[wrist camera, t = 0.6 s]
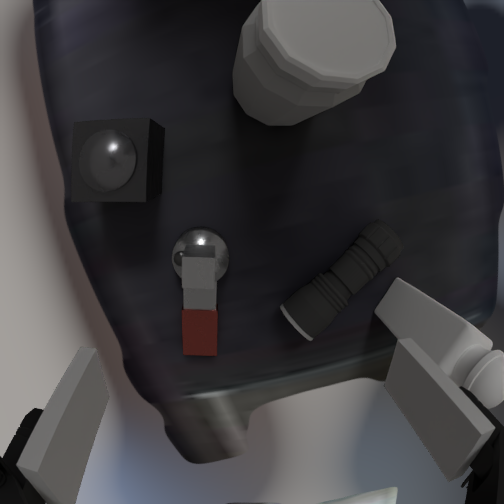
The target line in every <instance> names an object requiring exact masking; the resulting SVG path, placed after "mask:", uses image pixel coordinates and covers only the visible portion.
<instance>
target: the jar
mask: <svg viewBox="0 0 504 504" xmlns="http://www.w3.org/2000/svg"><path fill="white" fill-rule="evenodd" d="M395 48H396V41H395V35H394V29H393V23H392V18H391V16H390V15H389V13H388V12H387V10H386V9H385V7H384V6H383V5H382V3H381V2H380V1H379V0H261V2H259V4H258V5H257V6H256V8H255V9H254V10H253V12H252V13H251V15H250V16H249V18H248V19H247V20H246V22H245V23H244V25H243V26H242V30H241V34H240V39H239V44H238V48H237V53H236V58H235V63H234V68H233V95H234V96H235V98H236V99H237V101H238V102H239V104H240V105H241V107H242V108H243V110H244V111H245V113H246V114H247V115H249V116H251V117H253V118H255V119H257V120H258V121H260V122H262V123H264V124H266V125H268V126H293V125H295V124H297V123H299V122H301V121H303V120H305V119H308V118H310V117H312V116H314V115H316V114H319V113H321V112H323V111H325V110H327V109H330V108H332V107H334V106H336V105H338V104H340V103H342V102H343V101H345V100H347V99H349V98H351V97H353V96H355V95H357V94H359V93H360V92H361V90H362V88H363V86H364V84H365V82H366V80H367V79H369V78H371V77H373V76H375V75H377V74H379V73H381V72H383V71H385V69H386V67H387V65H388V63H389V61H390V59H391V57H392V54H393V52H394V50H395Z"/></svg>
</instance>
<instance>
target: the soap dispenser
mask: <svg viewBox="0 0 504 504" xmlns="http://www.w3.org/2000/svg"><path fill="white" fill-rule="evenodd" d="M374 312H375V314H376V315H377V316H378V317H379V318H380V319H381V321H382V322H383V323H384V324H385V325H386V326H387V327H388V329H389V330H390V331H391V332H392V333H393V334H394V335H395V337H396V338H397V339H398V340H399V339H406V338H411V339H412V340H413V341H414V342H415V343H416V344H417V345H418V346H419V347H420V348H421V349H422V350H423V351H424V352H425V353H426V354H427V355H428V356H429V357H430V358H431V359H432V360H433V361H434V362H435V363H436V364H437V365H438V366H439V367H440V368H441V369H442V370H443V371H444V372H445V373H446V374H447V376H448V377H449V378H450V379H451V380H452V381H453V382H454V383H455V384H456V385H457V386H458V387H461V386H462V387H464V388H465V389H467V390H469V391H471V392H472V393H473V394H474V395H475V396H476V397H477V399H478V401H480V402H481V403H482V404H483V406H485V407H486V408H487V409H489V408H493V407H495V406H497V405H498V404H500V403H501V402H502V401H503V400H504V353H503V352H502V351H501V350H494V351H490V350H491V348H492V346H493V343H492V341H491V340H490V339H489V338H488V337H487V336H485V335H484V334H482V333H481V332H480V331H479V330H478V329H477V328H476V327H474V326H473V325H472V324H471V323H469V322H468V321H466V320H465V319H463V318H462V317H460V316H459V315H457V314H456V313H454V312H452V311H451V310H449V309H448V308H446V307H445V306H443V305H442V304H440V303H438V302H437V301H435V300H434V299H432V298H431V297H429V296H427V295H426V294H424V293H423V292H421V291H419V290H418V289H416V288H415V287H413V286H411V285H410V284H408V283H406V282H405V281H403V280H402V279H400V278H396V279H395V280H394V282H393V283H392V285H391V286H390V288H389V290H388V291H387V293H386V294H385V296H384V297H383V299H382V300H381V302H380V303H379V304H378V306H377V307H376V309H375V311H374Z"/></svg>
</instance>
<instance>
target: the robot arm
mask: <svg viewBox="0 0 504 504" xmlns="http://www.w3.org/2000/svg"><path fill="white" fill-rule="evenodd" d="M384 387H385V388H386V390H387V391H388V393H389V394H390V395H391V397H392V398H393V400H394V401H395V403H396V404H397V405H398V407H399V409H400V410H401V411H402V413H403V414H404V416H405V417H406V419H407V420H408V422H409V423H410V424H411V426H412V428H413V429H414V431H415V432H416V434H417V435H418V436H419V438H420V440H421V441H422V442H423V444H424V445H425V447H426V448H427V450H428V452H429V453H430V455H431V456H432V458H433V459H434V461H435V462H436V464H437V465H438V467H439V468H440V470H441V471H442V473H443V474H444V476H445V477H446V479H447V481H449V482H450V481H452V480H454V479H456V478H458V477H460V476H462V475H463V474H464V473H465V471H466V470H467V469H468V467H469V466H470V467H471V468H472V469H473V471H472V472H471V473H470V475H469V476H468V477H467V478H466V479H465V481H464V482H463V483H462V485H461V487H462V488H463V487H464V486H465V484H466V483H467V482H468V481H469V483H468V486H467V487H466V488H468V489H467V495H466V500H465V504H504V426H503V425H502V424H501V423H500V422H499V421H498V420H497V419H496V418H495V417H494V416H493V415H492V413H491V412H490V411H489V410H488V409H487V408H486V407H485V406H483V404H482V403H481V402H480V401H478V399H477V397H476V396H475V395H474V394H473V393H472V392H471V391H469V390H467V389H465V388H464V387H462V386H461V387H458V386H457V385H456V384H455V383H454V382H453V381H452V380H451V379H450V378H449V377H448V376H447V374H446V373H445V372H444V371H443V370H442V369H441V368H440V367H439V366H438V365H437V364H436V363H435V362H434V361H433V360H432V359H431V358H430V357H429V356H428V355H427V354H426V353H425V352H424V351H423V350H422V349H421V348H420V347H419V346H418V345H417V344H416V343H415V342H414V341H413V340H412V339H411V338H406V339H399V340H397V344H396V347H395V351H394V354H393V358H392V361H391V365H390V368H389V371H388V374H387V378H386V381H385V384H384ZM108 399H109V394H108V391H107V387H106V383H105V380H104V376H103V372H102V368H101V364H100V360H99V356H98V352H97V349H96V348H88V347H80V349H79V350H78V352H77V354H76V356H75V357H74V359H73V360H72V362H71V364H70V365H69V367H68V369H67V370H66V372H65V374H64V375H63V377H62V379H61V380H60V382H59V384H58V386H57V387H56V389H55V391H54V393H53V395H52V396H51V398H50V400H49V402H48V404H47V405H46V407H45V409H44V410H42V409H37V408H34V409H33V410H32V411H30V412H29V413H28V414H27V415H26V416H25V417H24V419H23V421H22V423H21V424H20V427H19V428H18V430H17V431H16V435H14V437H13V439H12V441H11V443H10V444H9V446H8V448H7V450H6V452H5V454H4V456H3V458H1V456H0V504H45V503H47V504H75V503H76V499H77V495H78V492H79V488H80V485H81V481H82V478H83V475H84V471H85V468H86V465H87V462H88V458H89V455H90V452H91V449H92V446H93V443H94V440H95V437H96V434H97V430H98V428H99V425H100V422H101V419H102V416H103V414H104V411H105V408H106V405H107V402H108Z"/></svg>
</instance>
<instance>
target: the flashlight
mask: <svg viewBox="0 0 504 504" xmlns="http://www.w3.org/2000/svg"><path fill="white" fill-rule="evenodd" d="M403 248H404V247H403V244H402V242H401V240H400V238H399V237H398V236H397V234H396V233H395V232H394V231H393V230H392V229H391V228H390V227H389V226H388V225H387V224H385V223H384V222H382V221H381V220H376V221H375V222H374V223H370V224H369V225H367V226H366V227H365V228H364V229H363V230H362V231H361V232H360V233H359V238H358V239H357V240H356V241H355V242H354V243H353V246H352V247H349V250H346V251H345V254H344V255H343V256H342V257H340V258H339V259H338V260H337V261H336V262H335V263H334V264H333V265H332V266H331V267H330V268H329V269H330V271H329V272H326V273H325V274H324V275H323V274H322V273H319V274H318V276H316V277H315V279H312V280H311V283H309V284H307V285H305V286H304V287H302V288H300V289H298V290H297V291H296V292H295V293H294V294H293V295H292V296H291V297H290V298H288V299H287V300H286V301H285V302H284V303H283V304H282V305H281V306H280V308H281V310H282V312H283V314H284V315H285V316H286V318H287V319H288V320H289V321H290V323H291V324H292V325H293V326H294V327H295V328H296V329H297V331H298V332H300V333H301V334H302V335H303V336H304V337H305V338H306V339H307V340H309V341H311V340H313V339H314V338H315V337H316V336H317V335H318V334H319V333H321V332H322V331H323V330H324V329H325V328H326V327H327V326H329V325H330V324H331V322H332V321H333V319H334V318H335V316H336V315H337V313H338V312H341V310H342V309H344V308H345V306H348V302H347V300H348V299H349V298H350V295H351V294H353V295H354V294H356V293H357V292H358V291H359V290H360V289H361V288H362V287H363V286H364V285H365V284H366V283H367V282H368V281H369V280H372V279H373V277H374V276H376V273H377V272H381V271H382V270H383V269H384V268H385V267H389V266H390V265H391V264H392V263H393V262H394V261H395V260H396V259H397V258H398V257H399V256H400V251H401V250H402V249H403Z"/></svg>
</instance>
